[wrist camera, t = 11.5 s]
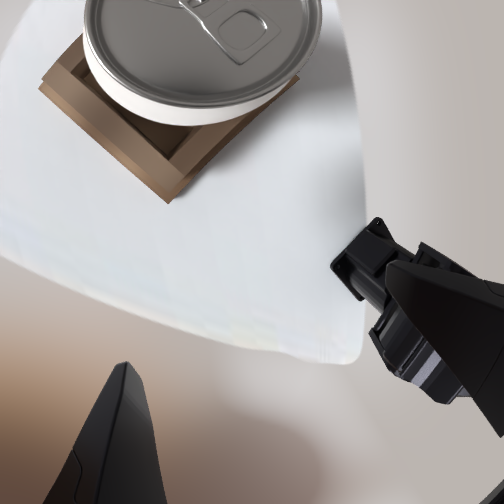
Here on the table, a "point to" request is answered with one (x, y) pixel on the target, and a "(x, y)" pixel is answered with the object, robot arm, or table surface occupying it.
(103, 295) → the table surface
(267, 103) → the socket
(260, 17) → the can
